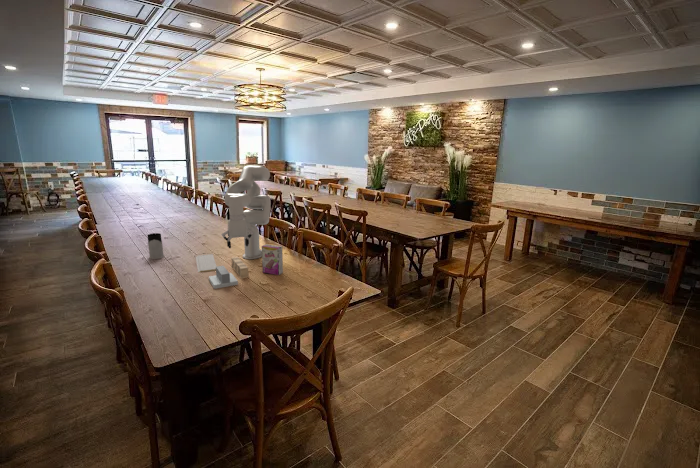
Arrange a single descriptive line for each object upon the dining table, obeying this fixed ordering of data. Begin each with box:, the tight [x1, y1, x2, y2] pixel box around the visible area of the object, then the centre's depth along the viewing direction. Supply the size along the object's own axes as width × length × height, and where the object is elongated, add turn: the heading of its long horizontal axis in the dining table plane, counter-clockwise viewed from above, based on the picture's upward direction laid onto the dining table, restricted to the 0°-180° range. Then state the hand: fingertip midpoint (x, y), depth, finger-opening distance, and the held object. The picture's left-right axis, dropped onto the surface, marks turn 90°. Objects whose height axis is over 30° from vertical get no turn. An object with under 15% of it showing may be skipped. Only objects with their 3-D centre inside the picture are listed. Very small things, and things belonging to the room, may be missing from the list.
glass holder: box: [147, 232, 165, 260], centre depth 224 cm, size 9×14×15 cm, turn 24°
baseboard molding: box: [195, 252, 218, 273], centre depth 213 cm, size 31×3×12 cm
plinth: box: [208, 265, 239, 289], centre depth 184 cm, size 12×14×7 cm
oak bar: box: [230, 256, 250, 279], centre depth 200 cm, size 22×4×6 cm, turn 32°
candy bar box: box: [261, 243, 284, 276], centre depth 198 cm, size 11×5×16 cm, turn 71°
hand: (238, 246), depth 197 cm, fingers open, 9 cm apart
